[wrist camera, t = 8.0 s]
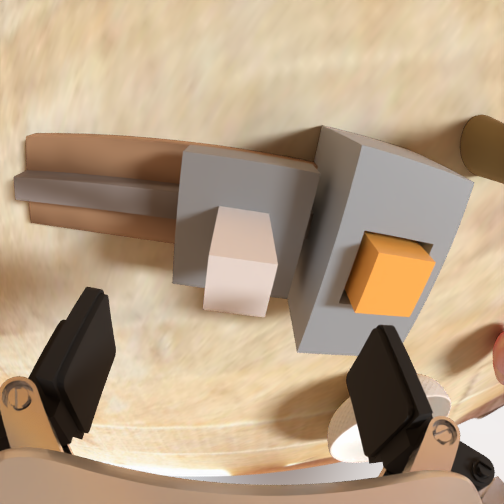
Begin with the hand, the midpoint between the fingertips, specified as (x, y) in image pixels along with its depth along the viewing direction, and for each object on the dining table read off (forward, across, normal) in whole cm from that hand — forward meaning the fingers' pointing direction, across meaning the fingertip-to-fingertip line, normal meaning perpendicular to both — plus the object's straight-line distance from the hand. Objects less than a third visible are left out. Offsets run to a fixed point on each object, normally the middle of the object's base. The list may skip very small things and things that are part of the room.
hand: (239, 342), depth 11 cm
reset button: (+10, -9, +1) cm, 13 cm away
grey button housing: (+16, -9, +1) cm, 19 cm away
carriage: (+15, 0, +1) cm, 15 cm away
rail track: (+16, +7, +1) cm, 18 cm away
